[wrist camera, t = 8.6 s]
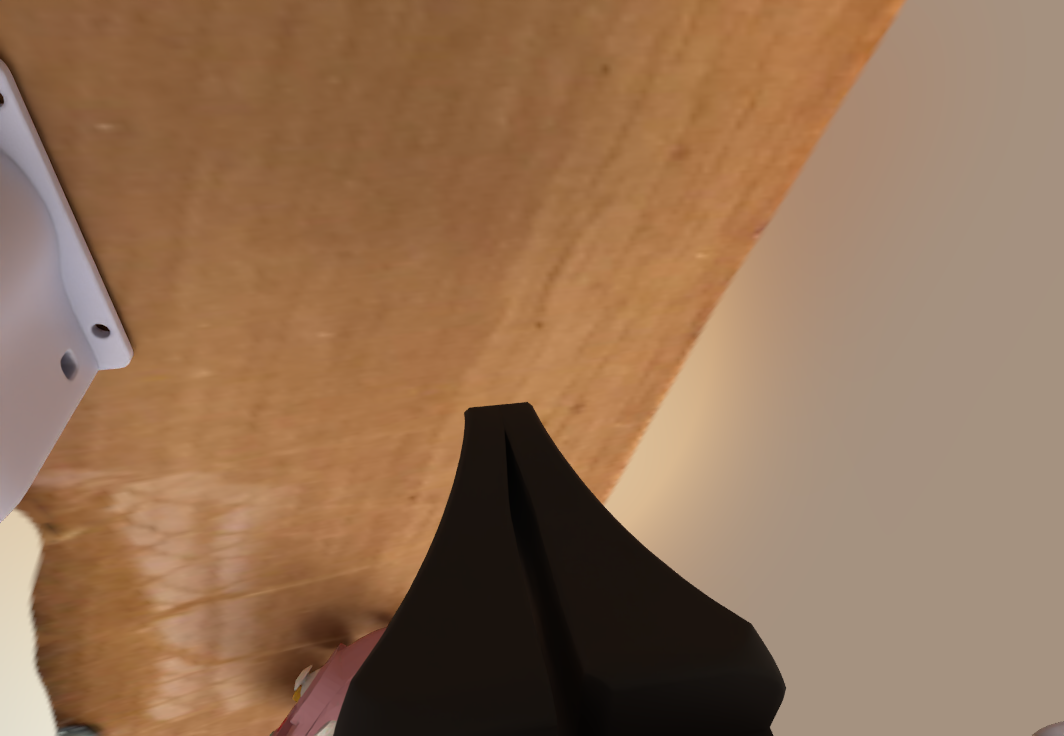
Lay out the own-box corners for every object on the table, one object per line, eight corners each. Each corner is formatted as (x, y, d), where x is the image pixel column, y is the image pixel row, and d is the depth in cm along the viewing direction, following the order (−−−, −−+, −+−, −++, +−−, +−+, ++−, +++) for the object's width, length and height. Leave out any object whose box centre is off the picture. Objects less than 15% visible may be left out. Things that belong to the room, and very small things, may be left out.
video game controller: (362, 583, 34) (284, 697, 27) (436, 634, 34) (375, 759, 27) (292, 682, 38) (210, 800, 32) (358, 726, 38) (289, 853, 32)
